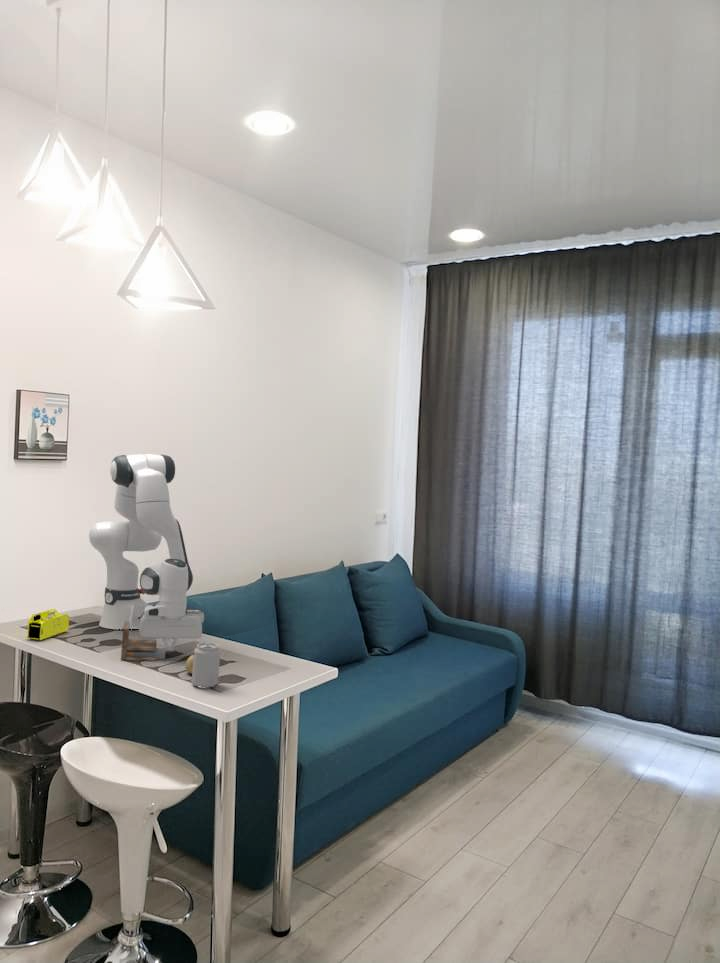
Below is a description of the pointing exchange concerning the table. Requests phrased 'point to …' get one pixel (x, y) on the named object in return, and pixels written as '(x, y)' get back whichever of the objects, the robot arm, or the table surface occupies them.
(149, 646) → the tan bookend
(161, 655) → the two-tone tall prism
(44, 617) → the yellow toy chassis
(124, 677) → the table surface
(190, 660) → the onion
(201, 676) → the can
